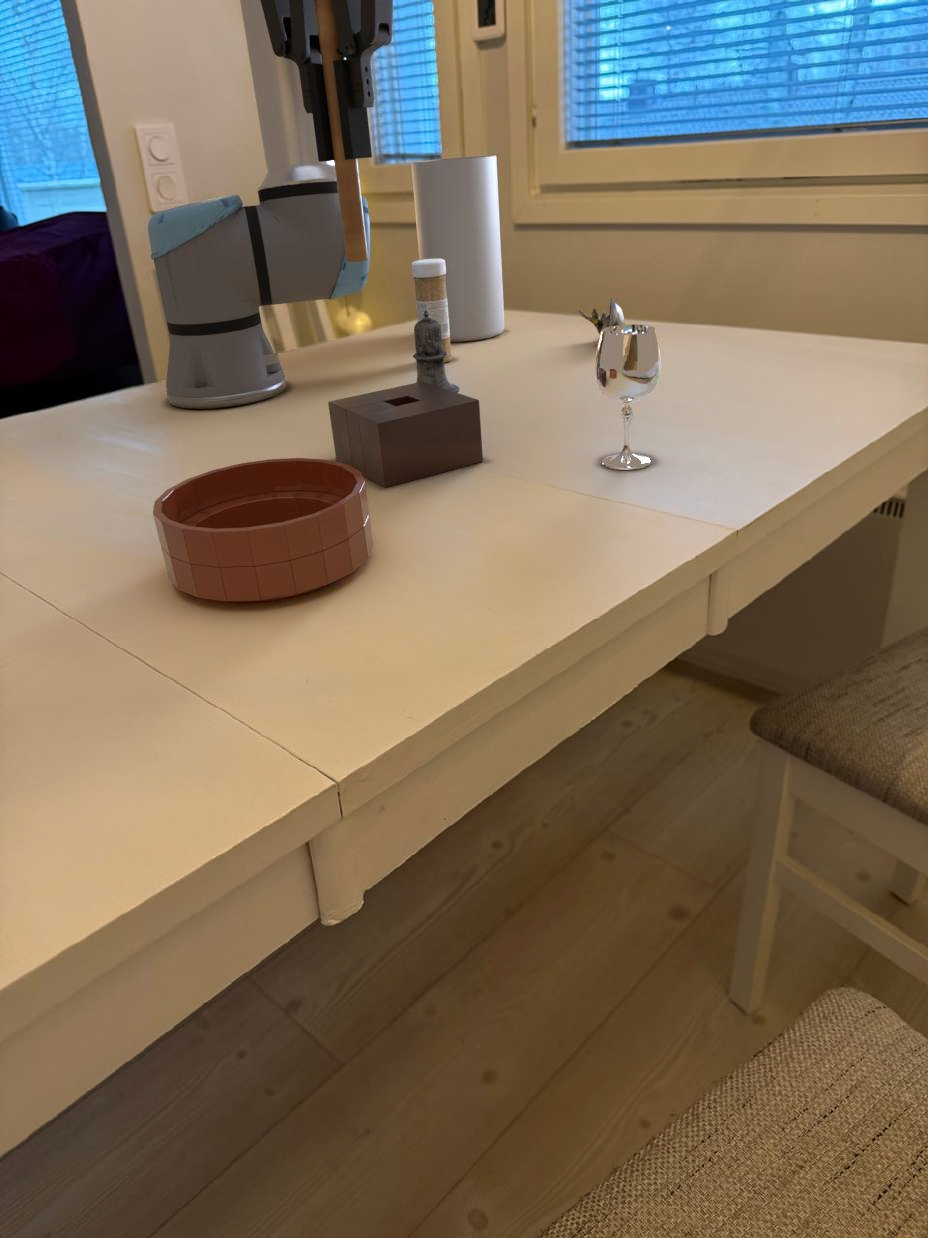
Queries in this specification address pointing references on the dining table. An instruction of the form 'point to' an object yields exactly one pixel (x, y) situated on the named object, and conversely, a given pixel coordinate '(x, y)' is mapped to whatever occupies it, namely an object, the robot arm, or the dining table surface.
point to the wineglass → (627, 378)
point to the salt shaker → (431, 354)
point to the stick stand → (406, 432)
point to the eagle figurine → (610, 320)
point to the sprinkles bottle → (433, 296)
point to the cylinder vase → (463, 239)
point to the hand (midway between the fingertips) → (345, 158)
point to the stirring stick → (341, 140)
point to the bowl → (264, 529)
